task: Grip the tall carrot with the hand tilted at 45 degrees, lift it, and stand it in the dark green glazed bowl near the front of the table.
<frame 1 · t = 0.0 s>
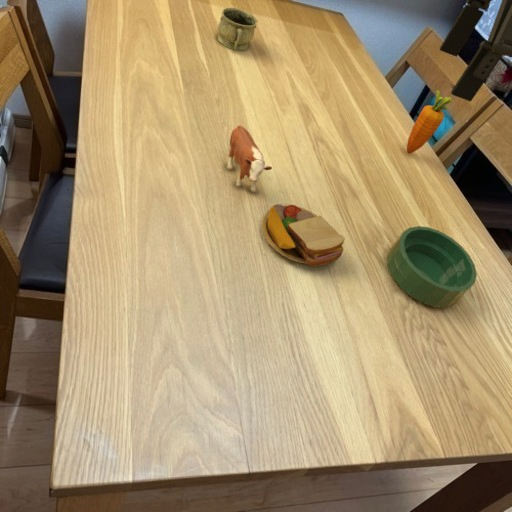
hand: (453, 73, 68), 29 cm above the table, tool pointing down, fingers open, 13 cm apart
vessel: (232, 42, 119), on the table
toy sandwich meal: (299, 240, 80), on the table
bull figurine: (240, 180, 86), on the table
bowl: (422, 275, 83), on the table
carrot: (407, 153, 109), on the table
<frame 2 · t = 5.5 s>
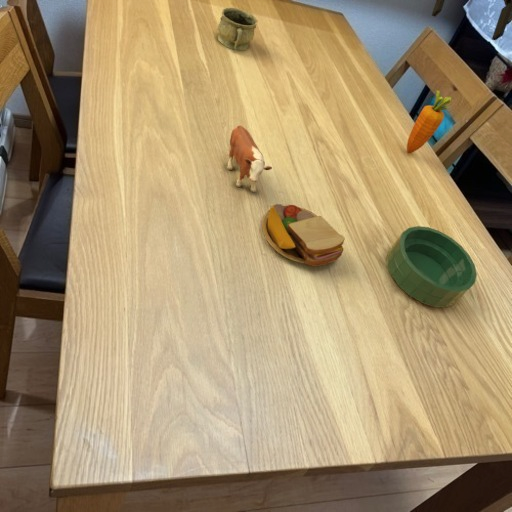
hand: (466, 25, 98), 25 cm above the table, tool tilted 45°, fingers open, 13 cm apart
nothing on the table moved.
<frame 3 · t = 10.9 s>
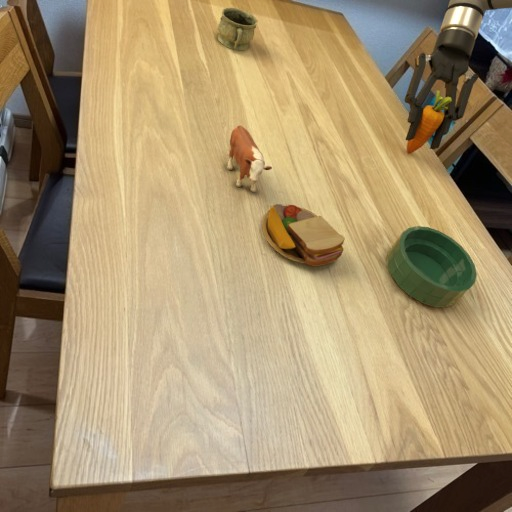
hand: (422, 143, 102), 5 cm above the table, tool tilted 45°, fingers closed on carrot, 5 cm apart
carrot: (407, 153, 109), on the table, touching gripper
everything else where it was.
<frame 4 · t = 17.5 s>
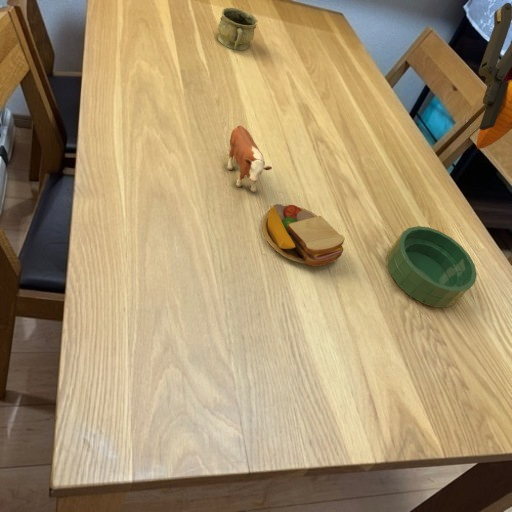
hand: (503, 133, 71), 24 cm above the table, tool tilted 45°, fingers closed on carrot, 5 cm apart
carrot: (477, 149, 78), point 19 cm above the table, touching gripper
everything else where it was.
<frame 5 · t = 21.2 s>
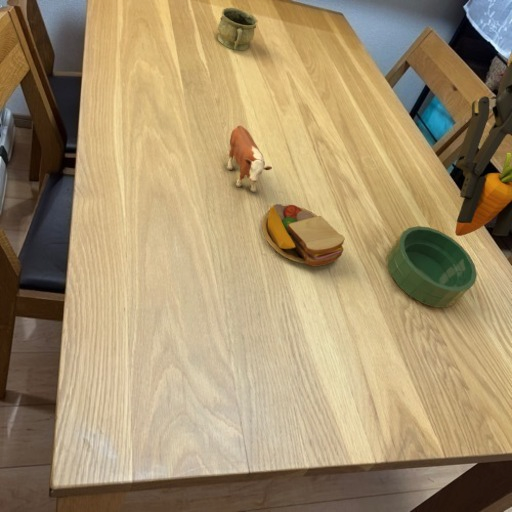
hand: (481, 228, 70), 16 cm above the table, tool tilted 45°, fingers closed on carrot, 5 cm apart
carrot: (456, 236, 76), point 10 cm above the table, touching gripper
everything else where it was.
when the fingers open (6 cm above the table, at t = 24.1 s): carrot stays where it is, resting on bowl.
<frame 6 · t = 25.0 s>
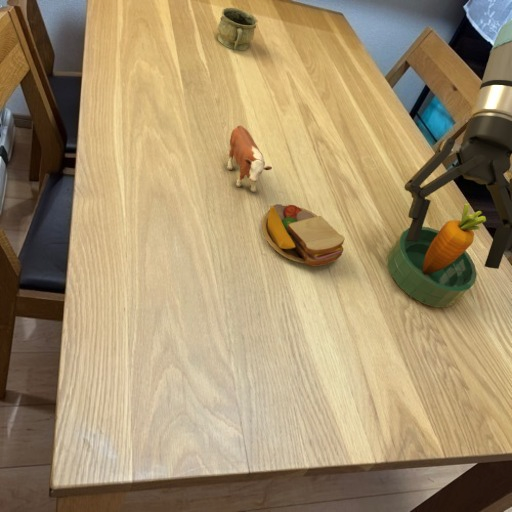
hand: (451, 254, 76), 8 cm above the table, tool tilted 45°, fingers open, 13 cm apart
carrot: (423, 274, 83), resting on bowl
everything else where it was.
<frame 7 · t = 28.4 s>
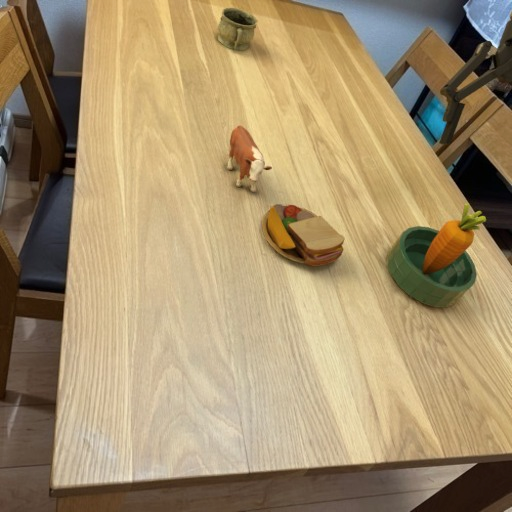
hand: (482, 156, 81), 17 cm above the table, tool tilted 35°, fingers open, 13 cm apart
nothing on the table moved.
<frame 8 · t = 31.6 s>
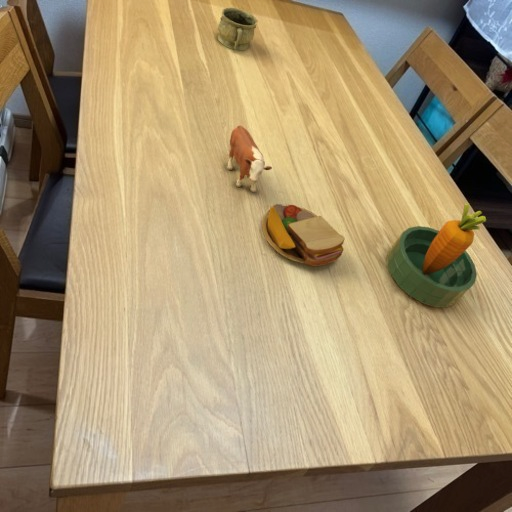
nothing on the table moved.
at the end: carrot inside the target area in the bowl (0.1 cm from its centre), point 0.4 cm above the bowl's base; the gripper is holding nothing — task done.
